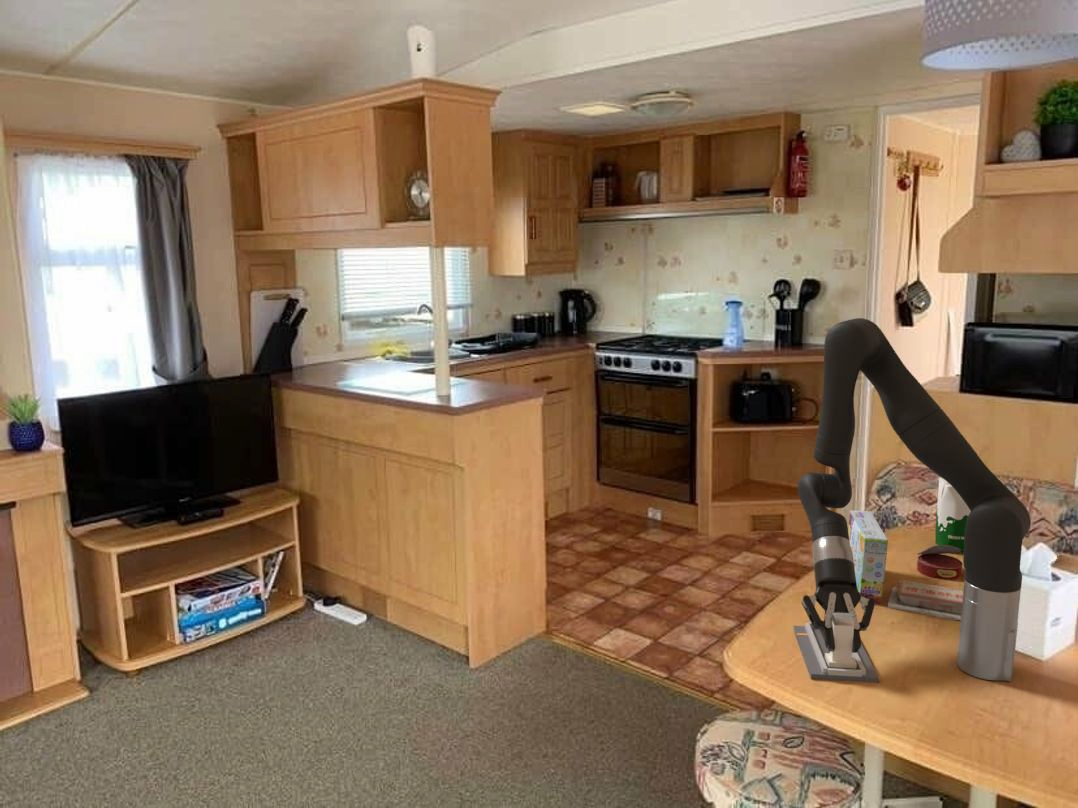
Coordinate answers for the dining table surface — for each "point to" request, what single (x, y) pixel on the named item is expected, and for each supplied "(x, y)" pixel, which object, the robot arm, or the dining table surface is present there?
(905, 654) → the dining table surface
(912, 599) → the packaged product
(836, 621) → the fader tab
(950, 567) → the canned food
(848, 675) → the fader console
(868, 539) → the snack box
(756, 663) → the dining table surface
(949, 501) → the milk carton
